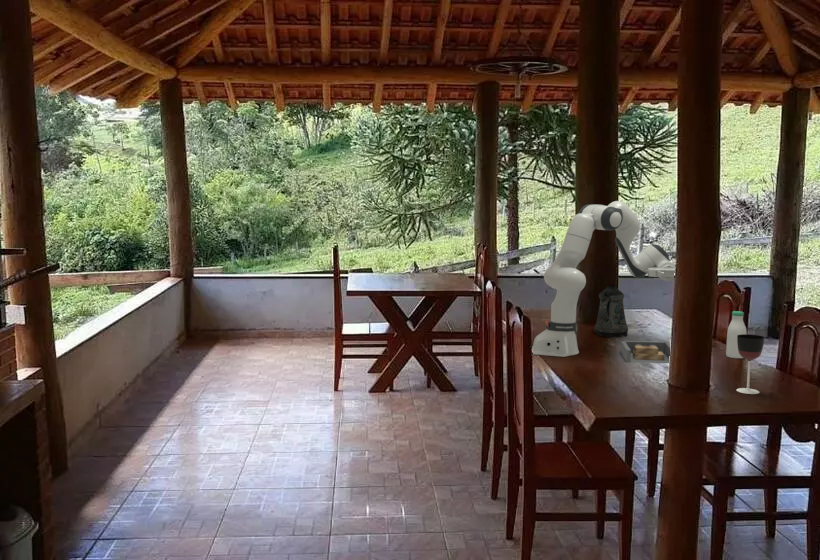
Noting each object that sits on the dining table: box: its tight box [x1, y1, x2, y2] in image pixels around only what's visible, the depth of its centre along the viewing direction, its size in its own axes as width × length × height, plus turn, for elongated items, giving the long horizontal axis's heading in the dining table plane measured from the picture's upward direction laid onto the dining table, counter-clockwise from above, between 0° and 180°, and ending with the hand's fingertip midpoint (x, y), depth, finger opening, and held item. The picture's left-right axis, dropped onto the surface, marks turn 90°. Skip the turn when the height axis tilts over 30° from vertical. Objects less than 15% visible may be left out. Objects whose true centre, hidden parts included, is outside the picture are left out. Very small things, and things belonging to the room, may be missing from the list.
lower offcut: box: [633, 351, 665, 360], centre depth 295 cm, size 12×6×2 cm, turn 80°
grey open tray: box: [620, 340, 671, 364], centre depth 296 cm, size 20×20×6 cm
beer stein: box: [594, 285, 629, 338], centre depth 351 cm, size 16×19×25 cm
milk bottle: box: [725, 310, 748, 359], centre depth 302 cm, size 8×8×20 cm
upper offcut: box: [634, 346, 658, 354], centre depth 295 cm, size 9×5×2 cm, turn 80°
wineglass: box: [736, 334, 765, 395], centre depth 249 cm, size 8×9×20 cm
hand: (673, 274), depth 310 cm, fingers open, 8 cm apart
